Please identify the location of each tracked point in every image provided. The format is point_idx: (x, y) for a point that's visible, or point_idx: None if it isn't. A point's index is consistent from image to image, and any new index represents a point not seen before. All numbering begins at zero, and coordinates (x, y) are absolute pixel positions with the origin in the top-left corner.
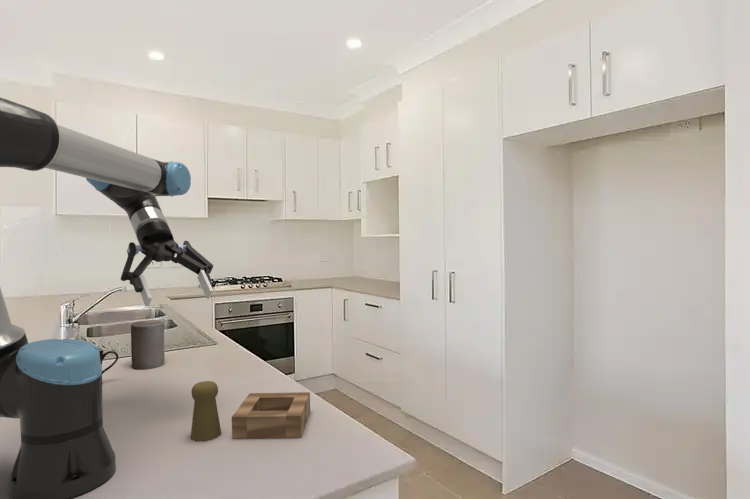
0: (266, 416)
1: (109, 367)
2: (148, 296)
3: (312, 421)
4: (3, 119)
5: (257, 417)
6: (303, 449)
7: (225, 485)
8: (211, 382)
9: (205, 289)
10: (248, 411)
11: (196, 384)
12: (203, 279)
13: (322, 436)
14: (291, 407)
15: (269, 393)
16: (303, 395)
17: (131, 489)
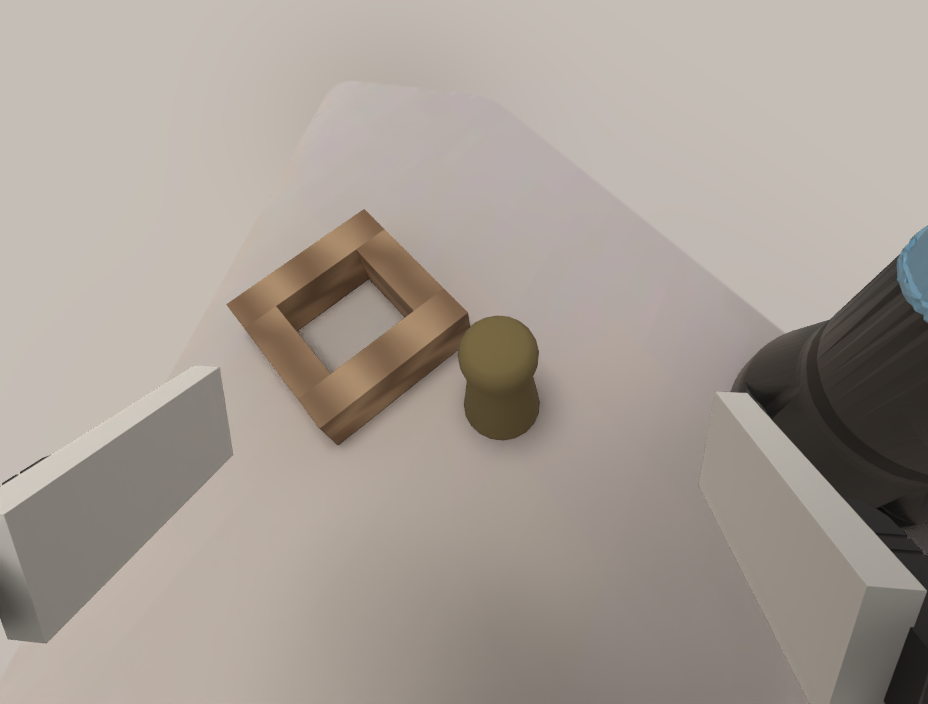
0: (412, 258)
1: None
2: (747, 402)
3: None
4: None
5: (426, 271)
6: (410, 203)
7: (585, 197)
8: (478, 335)
9: (190, 452)
10: (418, 311)
11: (520, 355)
12: (119, 464)
13: (346, 217)
14: (337, 258)
15: (290, 379)
16: (255, 298)
17: (721, 293)
